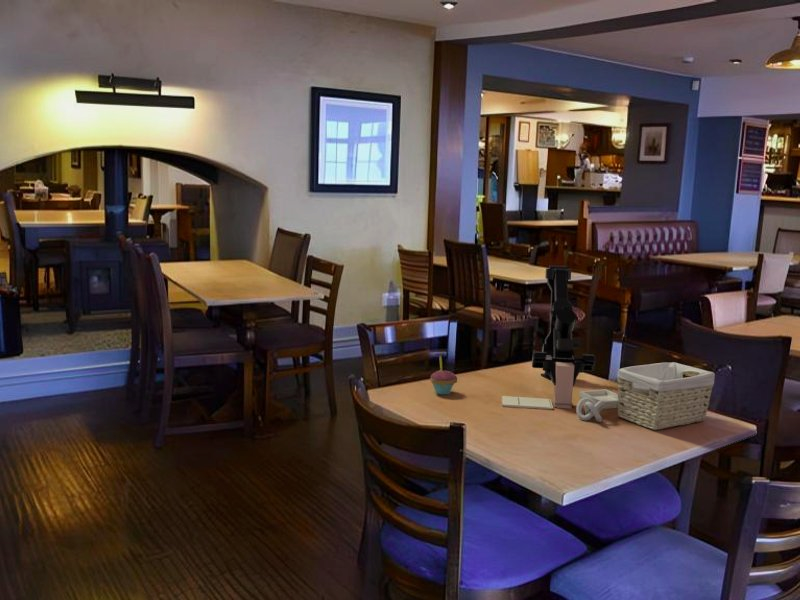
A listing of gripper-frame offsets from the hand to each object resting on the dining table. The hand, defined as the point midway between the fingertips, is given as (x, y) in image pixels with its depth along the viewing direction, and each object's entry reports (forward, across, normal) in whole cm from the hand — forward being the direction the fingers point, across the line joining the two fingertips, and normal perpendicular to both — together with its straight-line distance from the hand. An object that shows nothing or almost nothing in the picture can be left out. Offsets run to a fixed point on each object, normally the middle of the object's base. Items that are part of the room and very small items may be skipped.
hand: (564, 385), depth 212 cm
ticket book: (+4, -11, +6) cm, 13 cm away
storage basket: (+9, +28, +1) cm, 29 cm away
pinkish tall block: (+4, 0, +6) cm, 7 cm away
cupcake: (0, -37, +10) cm, 38 cm away
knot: (+13, +7, -2) cm, 15 cm away
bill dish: (-1, +13, +10) cm, 17 cm away
